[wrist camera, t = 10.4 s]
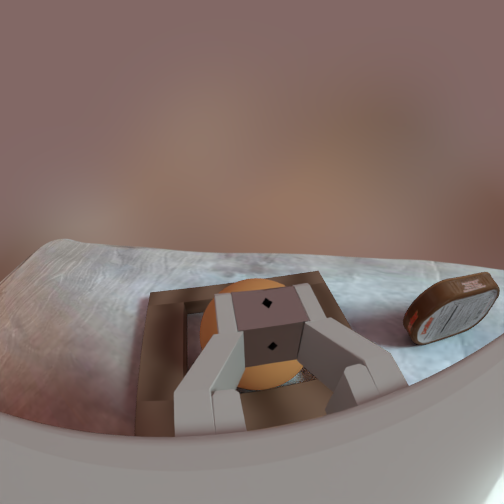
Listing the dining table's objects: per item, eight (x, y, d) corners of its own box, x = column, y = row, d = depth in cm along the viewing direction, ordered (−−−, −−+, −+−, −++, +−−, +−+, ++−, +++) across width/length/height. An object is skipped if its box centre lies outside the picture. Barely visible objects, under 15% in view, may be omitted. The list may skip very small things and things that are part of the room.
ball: (176, 281, 20) (217, 279, 30) (187, 404, 19) (222, 366, 29) (314, 276, 18) (310, 274, 28) (314, 410, 18) (312, 367, 27)
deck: (149, 548, 10) (139, 549, 8) (154, 304, 34) (150, 292, 33) (418, 493, 12) (429, 489, 11) (316, 282, 37) (318, 270, 36)
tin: (473, 313, 29) (496, 264, 24) (483, 328, 26) (511, 279, 21) (392, 336, 28) (416, 279, 23) (402, 356, 25) (431, 301, 21)
